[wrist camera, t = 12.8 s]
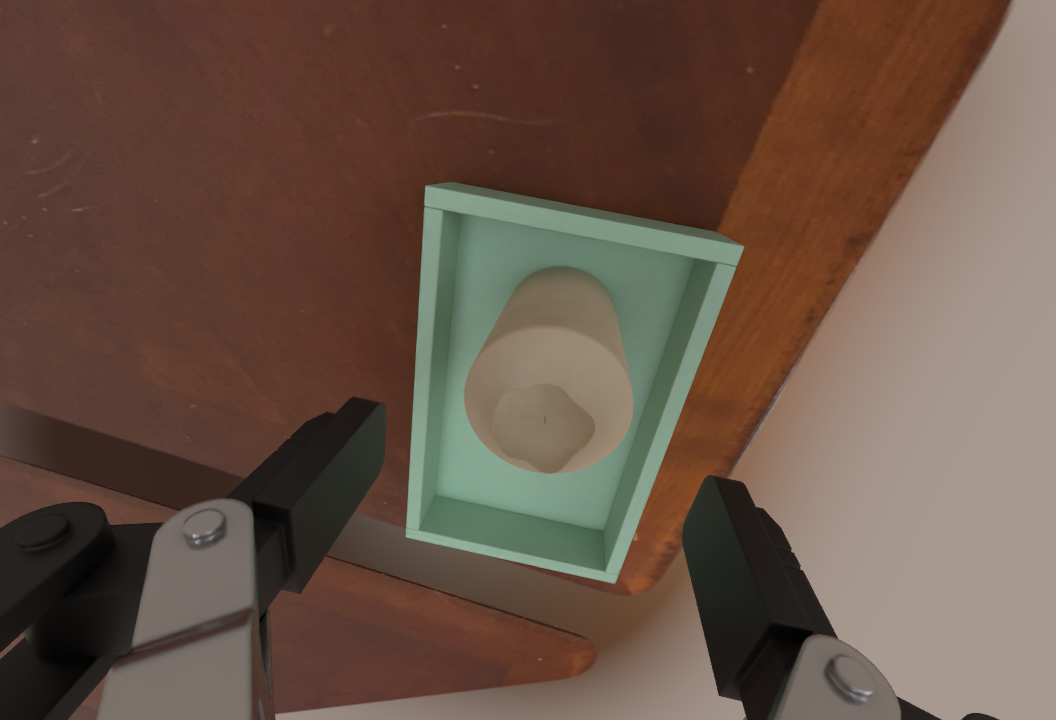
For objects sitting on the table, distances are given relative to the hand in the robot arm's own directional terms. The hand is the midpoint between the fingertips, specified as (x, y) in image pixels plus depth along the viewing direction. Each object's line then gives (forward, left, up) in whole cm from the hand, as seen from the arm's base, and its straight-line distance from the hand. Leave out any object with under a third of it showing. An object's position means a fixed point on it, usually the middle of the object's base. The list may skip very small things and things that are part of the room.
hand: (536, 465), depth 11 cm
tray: (+5, 0, -13) cm, 13 cm away
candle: (0, 0, -12) cm, 12 cm away
